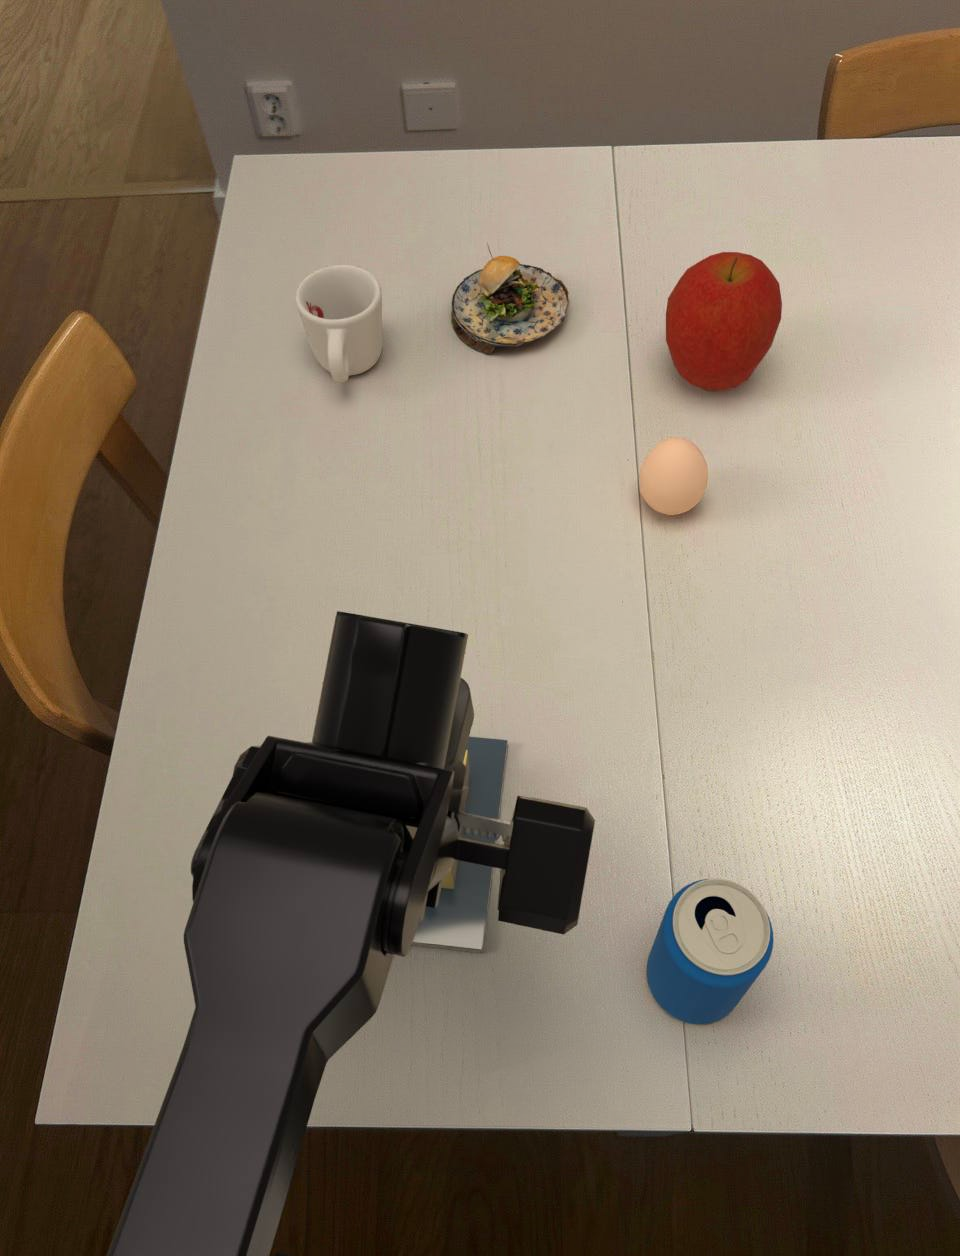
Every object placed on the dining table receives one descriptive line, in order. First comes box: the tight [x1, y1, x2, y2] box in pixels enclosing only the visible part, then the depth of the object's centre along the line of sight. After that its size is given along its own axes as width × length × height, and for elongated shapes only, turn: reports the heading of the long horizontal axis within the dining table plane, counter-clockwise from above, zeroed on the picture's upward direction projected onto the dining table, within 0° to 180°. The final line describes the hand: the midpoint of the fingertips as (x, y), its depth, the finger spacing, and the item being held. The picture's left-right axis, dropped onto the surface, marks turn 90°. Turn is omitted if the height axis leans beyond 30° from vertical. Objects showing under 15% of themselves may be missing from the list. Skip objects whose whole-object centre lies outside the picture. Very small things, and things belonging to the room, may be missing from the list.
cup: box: [295, 264, 383, 383], centre depth 100 cm, size 11×8×8 cm
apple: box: [665, 251, 783, 392], centre depth 96 cm, size 10×10×14 cm
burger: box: [450, 243, 570, 355], centre depth 104 cm, size 12×12×8 cm
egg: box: [638, 436, 709, 516], centre depth 90 cm, size 6×6×8 cm
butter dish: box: [411, 736, 509, 954], centre depth 76 cm, size 16×11×5 cm
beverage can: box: [646, 878, 774, 1025], centre depth 67 cm, size 6×6×12 cm
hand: (434, 821), depth 63 cm, fingers open, 9 cm apart
